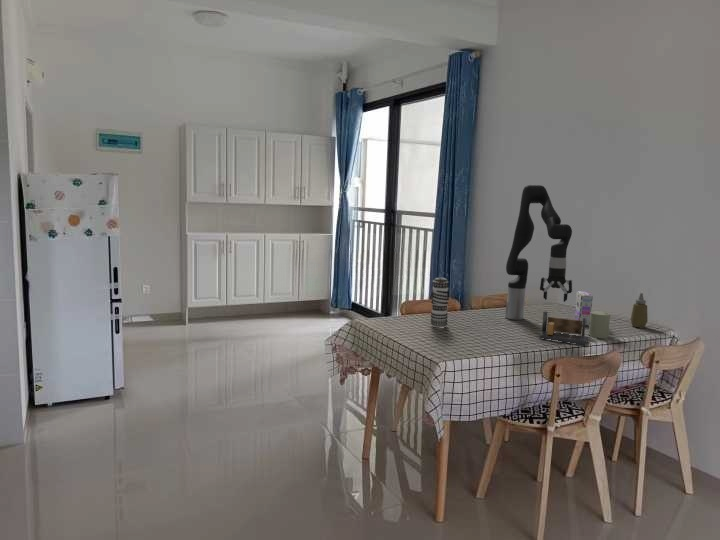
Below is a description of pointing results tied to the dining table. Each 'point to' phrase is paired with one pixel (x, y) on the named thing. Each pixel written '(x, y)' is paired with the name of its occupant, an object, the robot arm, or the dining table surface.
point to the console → (565, 338)
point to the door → (566, 325)
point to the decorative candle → (439, 302)
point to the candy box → (583, 306)
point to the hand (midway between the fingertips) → (555, 300)
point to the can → (599, 324)
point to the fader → (550, 328)
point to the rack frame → (558, 332)
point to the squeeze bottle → (639, 312)
